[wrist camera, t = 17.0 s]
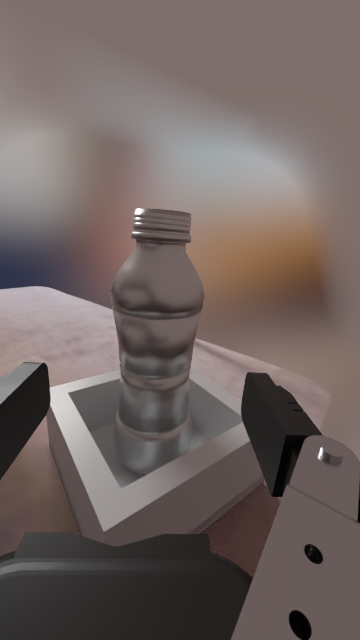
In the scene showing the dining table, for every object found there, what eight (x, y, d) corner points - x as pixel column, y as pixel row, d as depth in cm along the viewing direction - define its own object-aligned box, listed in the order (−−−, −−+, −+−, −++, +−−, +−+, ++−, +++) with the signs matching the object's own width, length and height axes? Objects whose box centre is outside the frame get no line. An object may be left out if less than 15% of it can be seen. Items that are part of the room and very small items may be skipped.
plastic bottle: (202, 474, 22) (235, 215, 15) (119, 501, 19) (119, 201, 13) (174, 423, 27) (190, 218, 21) (107, 438, 25) (103, 209, 18)
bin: (105, 608, 14) (104, 531, 12) (49, 444, 25) (43, 389, 23) (263, 482, 22) (276, 424, 21) (170, 398, 33) (173, 355, 31)
